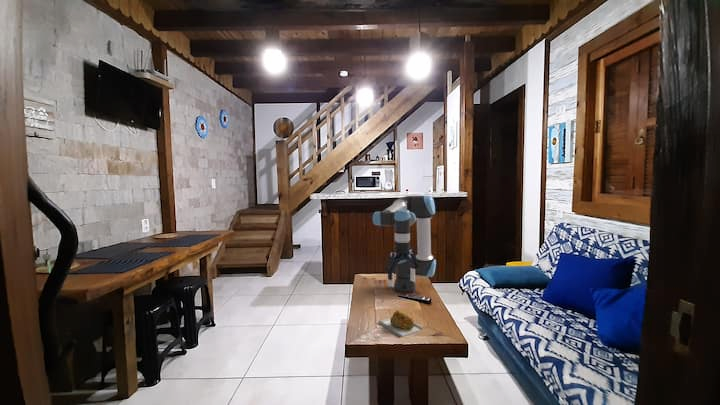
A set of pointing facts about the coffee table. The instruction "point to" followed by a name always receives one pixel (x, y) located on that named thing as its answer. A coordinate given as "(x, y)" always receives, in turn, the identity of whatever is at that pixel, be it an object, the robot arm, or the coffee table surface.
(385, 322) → the mat
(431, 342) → the coffee table surface
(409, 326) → the rock
